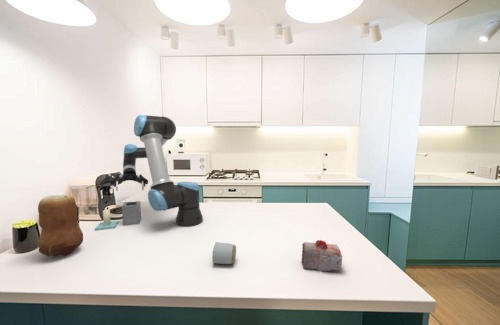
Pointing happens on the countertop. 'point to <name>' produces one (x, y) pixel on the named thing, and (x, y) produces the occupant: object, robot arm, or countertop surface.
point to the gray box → (131, 213)
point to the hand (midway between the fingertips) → (130, 188)
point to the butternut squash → (58, 226)
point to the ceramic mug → (224, 253)
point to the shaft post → (106, 221)
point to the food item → (321, 256)
